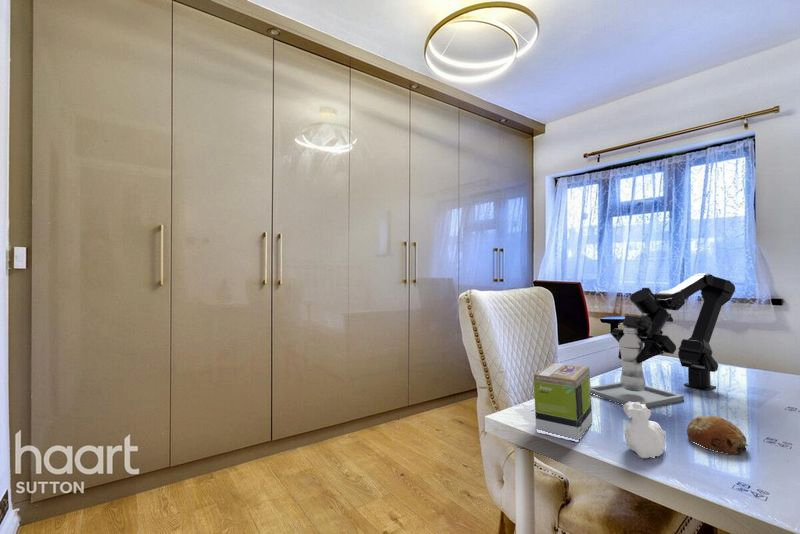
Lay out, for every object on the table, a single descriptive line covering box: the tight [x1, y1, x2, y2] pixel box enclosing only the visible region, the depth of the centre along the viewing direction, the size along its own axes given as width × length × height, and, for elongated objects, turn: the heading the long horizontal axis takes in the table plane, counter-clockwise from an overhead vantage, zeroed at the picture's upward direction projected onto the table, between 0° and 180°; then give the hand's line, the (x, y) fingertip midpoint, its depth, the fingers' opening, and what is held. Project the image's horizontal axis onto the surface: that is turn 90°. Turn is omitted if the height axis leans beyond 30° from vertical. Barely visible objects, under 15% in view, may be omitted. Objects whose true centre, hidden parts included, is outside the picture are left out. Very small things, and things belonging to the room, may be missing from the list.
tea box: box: [533, 362, 593, 440], centre depth 92 cm, size 15×10×15 cm
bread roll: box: [686, 415, 749, 455], centre depth 82 cm, size 10×10×8 cm
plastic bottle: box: [618, 326, 646, 391], centre depth 115 cm, size 6×7×20 cm
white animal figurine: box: [622, 401, 666, 459], centre depth 80 cm, size 12×8×11 cm
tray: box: [590, 381, 685, 409], centre depth 115 cm, size 20×18×2 cm
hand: (628, 360), depth 115 cm, fingers closed on plastic bottle, 6 cm apart
